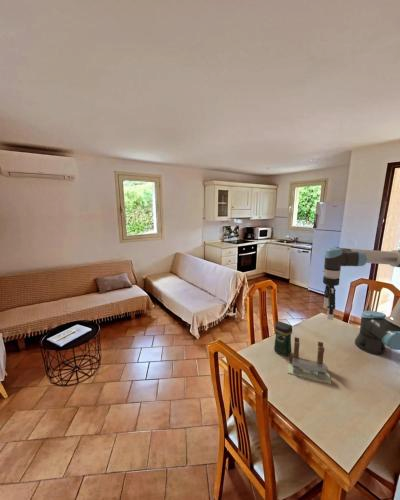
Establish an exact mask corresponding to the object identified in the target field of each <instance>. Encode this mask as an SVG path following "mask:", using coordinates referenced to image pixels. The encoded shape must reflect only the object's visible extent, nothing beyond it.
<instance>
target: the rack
mask: <svg viewBox="0 0 400 500" xmlns="http://www.w3.org/2000/svg"><path fill="white" fill-rule="evenodd" d="M317 343H318V344H317V357H316V361H314V360H312V359H311V360H310V359H306V358H300V357H299V356H300V355H299V354H300V345H301V344H300V337H296V336H295V337H294V346H293V356H291V355H289V364H292V359H293V358H296V359H301V360H306V361H310V362H315V363H319V364H324V365H326V363H324V353H325V347H324V342H323V341H318V342H317Z"/></svg>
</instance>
